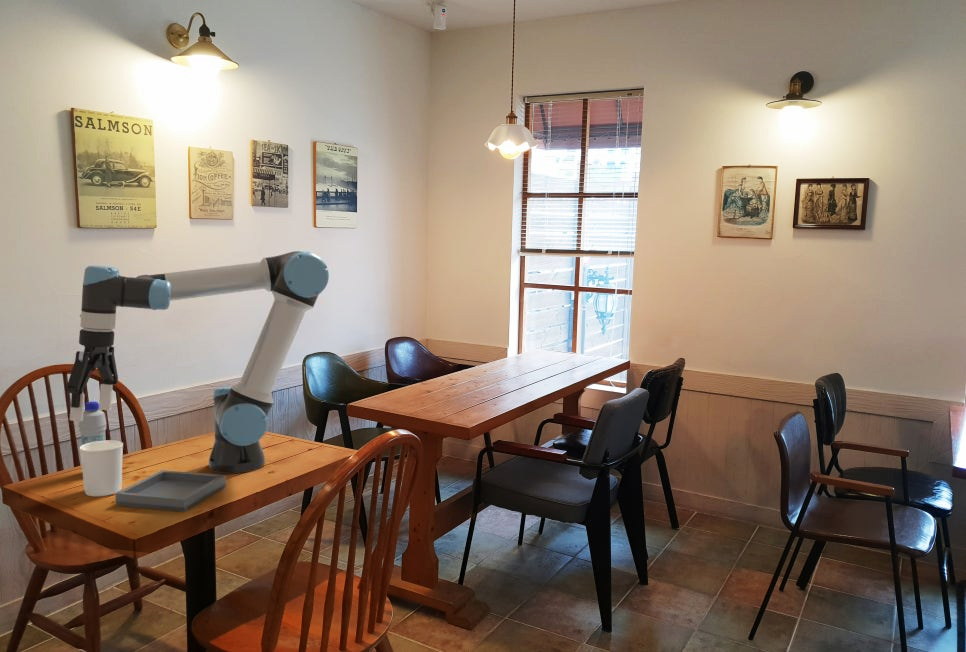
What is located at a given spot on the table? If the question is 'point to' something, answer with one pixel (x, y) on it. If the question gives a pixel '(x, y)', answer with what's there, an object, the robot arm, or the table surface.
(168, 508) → the tray
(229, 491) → the table surface
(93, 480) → the candle holder
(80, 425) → the bottle
